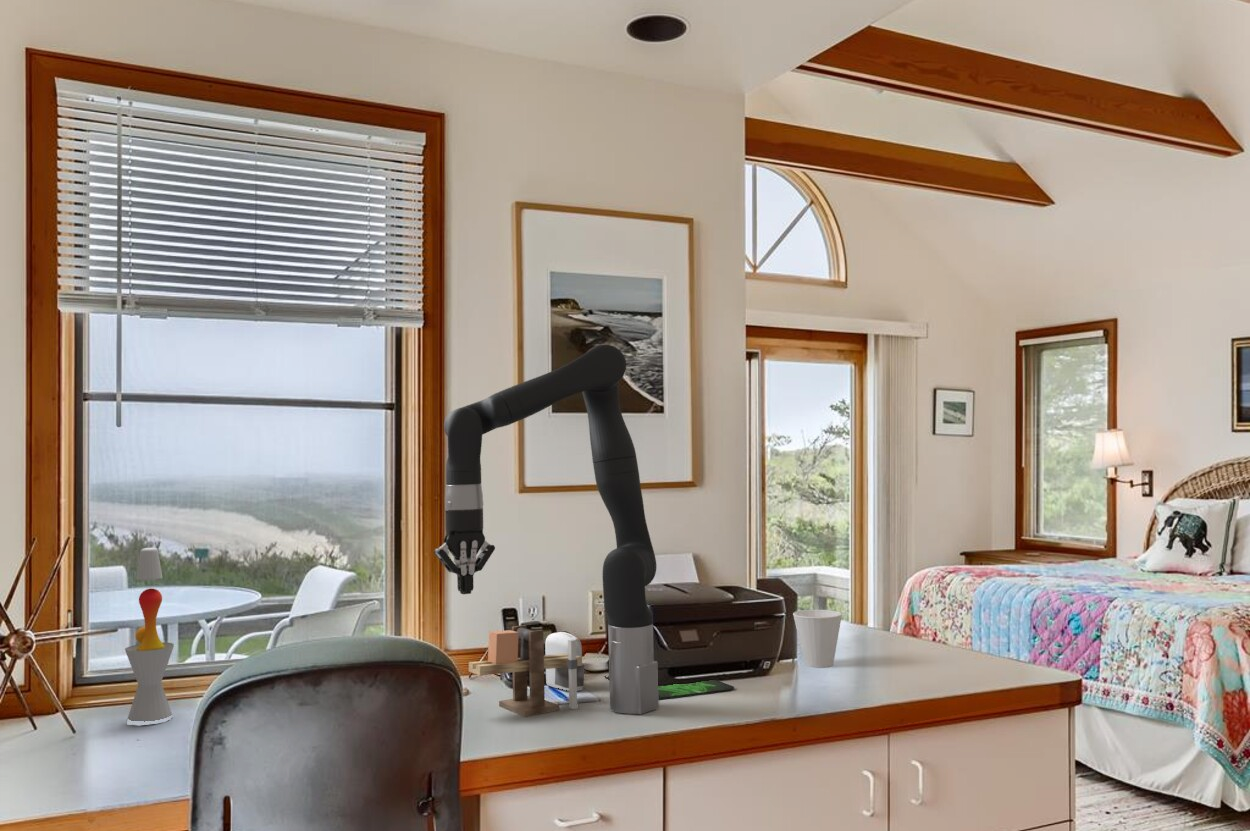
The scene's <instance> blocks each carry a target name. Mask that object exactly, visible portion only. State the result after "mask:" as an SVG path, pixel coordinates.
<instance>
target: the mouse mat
mask: <svg viewBox="0 0 1250 831" xmlns="http://www.w3.org/2000/svg"><path fill="white" fill-rule="evenodd" d="M606 676H607V675H605V676H603V678H604V677H605V680H607V679H608V680H607V681H609V676H608V677H606ZM734 689H735V686H733V685H731V684H728V683H725V682H723V681H721V680H719V679H715V680H709V681H701V682H696V683H690V684H673V685H667V686H658V696H659V701H662V700H667V699H676V698H683V697H684V698H685V697H693V696H700V695H707V694H716V693H723V692H731V691H734Z"/></svg>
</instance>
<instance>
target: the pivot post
mask: <svg viewBox="0 0 1250 831" xmlns="http://www.w3.org/2000/svg"><path fill="white" fill-rule="evenodd" d="M521 627H522V628H526V629H527V625H525V624H523V625H521V624H520V625H514V626H511V630H512V631H515V632H516V631H517V629H518V628H521ZM544 638H545V637H544V630H543V629H536V630H533V631H529V671H521V672H512V698H508V699H503V700H499V701H498V707H501V708H503V709H505V710H509V711H510V712H513V713H515V714H518V715H520V716H522V717H529V716H531V717H532V716H536V715H540V714H546V713H551V711H552V712H556V711H555V710H557V711H560V705H559V704H557V703H555V702H552V701H549V700H547V699H545V697H546V696H545V692H546V691H545V669H544V656H545V653H544V652H545V649H544V648H545V644H544V643H545V642H544V640H545V639H544ZM518 658H521V639H518ZM528 672H529V695H528Z"/></svg>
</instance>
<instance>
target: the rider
mask: <svg viewBox="0 0 1250 831" xmlns="http://www.w3.org/2000/svg"><path fill="white" fill-rule="evenodd" d="M518 634H519V632H515V631H512V629H508V630H493V631H492V630H491V631H489V632H488V647H487V648H488V650H487V651H488V652H487V653H488V656H487V661H488V662H491V663H494V664H502V663H513V662H518Z"/></svg>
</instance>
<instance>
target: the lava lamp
mask: <svg viewBox="0 0 1250 831" xmlns="http://www.w3.org/2000/svg"><path fill="white" fill-rule="evenodd" d="M162 572H163V571H162V565H161V562H160V555H159V550H158V548H156V547H145V548H142V549H141V550H140V554H139V560H138V565H137V572H136V578H135V580H136V581H153V580H159V579H161V580H162V579H163V573H162ZM162 602H163V595H162V593H161V591H159V590H158V589H156V588H147V589H144V590H143V591H142V592H141V593H140V594H139V597H138V604H139V606H140V608H141V611H142V612H141V613H142V615H143V620H144V626H142V627H139V628H138V629H137V631H136V632H135V640H136V641H137V642H138V644H135V645H129V646H127V647H125V648H124V650H125V653H126V656H127V659H128V661H129V664H130V666H131V667H130V668H131V669H132V672H133V674H134V678H135V680H136V683H137V684H138V685H137V687H136V690H135V694H134V697H133V699H132V704H131V707H130V709H129V713H128V716H127V719H129V720H131V721H144V722H145V721H155V720H160V719H164V718H167V717H169V716H171V715H173V713H172V709H171V707H170V704H169V701H168V698H167V695H166V691H165V688H164V687H163V684H162V681H163V678H164V675H165V673H166V669H167V667H168V664H169V661H170V658H171V655H172V653H173V650H174V647H175V644H174V643H172V642H163V641H162V640H161V639H160V637H159V635H158V634H159V633H158V631H157V617H158V613H159V610H160V607H161V604H162Z"/></svg>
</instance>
